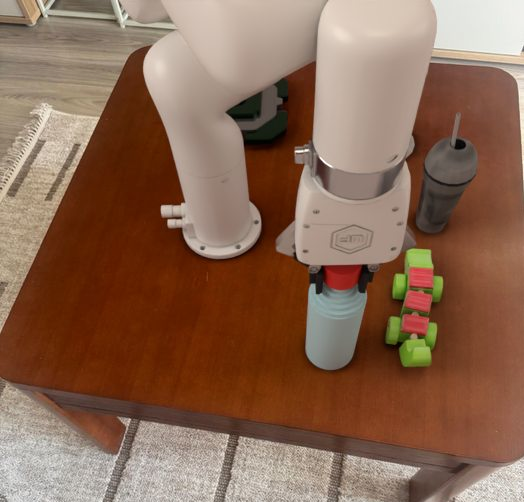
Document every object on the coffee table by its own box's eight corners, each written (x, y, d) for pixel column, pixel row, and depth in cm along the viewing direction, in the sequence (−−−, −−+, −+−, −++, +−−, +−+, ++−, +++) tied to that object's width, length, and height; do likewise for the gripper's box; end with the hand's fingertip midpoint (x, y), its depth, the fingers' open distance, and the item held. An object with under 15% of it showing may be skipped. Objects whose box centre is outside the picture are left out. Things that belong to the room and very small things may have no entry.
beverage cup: (452, 243, 81) (498, 138, 63) (404, 237, 82) (436, 132, 64) (454, 207, 84) (499, 97, 66) (408, 201, 85) (440, 92, 67)
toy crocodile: (395, 257, 80) (403, 231, 75) (440, 263, 79) (451, 238, 74) (380, 372, 72) (387, 353, 66) (429, 381, 71) (441, 362, 65)
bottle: (306, 370, 72) (311, 291, 55) (304, 327, 76) (309, 238, 58) (355, 369, 72) (377, 289, 54) (352, 326, 75) (371, 237, 57)
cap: (331, 295, 57) (333, 280, 54) (314, 266, 58) (316, 250, 56) (366, 282, 57) (370, 266, 55) (349, 253, 59) (352, 237, 56)
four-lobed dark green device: (194, 83, 101) (190, 61, 97) (288, 82, 100) (288, 59, 95) (184, 151, 93) (179, 130, 88) (286, 150, 91) (286, 128, 87)
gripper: (255, 195, 42) (265, 313, 58) (469, 188, 41) (418, 310, 57) (255, 129, 45) (265, 258, 61) (454, 121, 44) (410, 254, 61)
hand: (339, 282), depth 59 cm, fingers closed on cap, 4 cm apart
